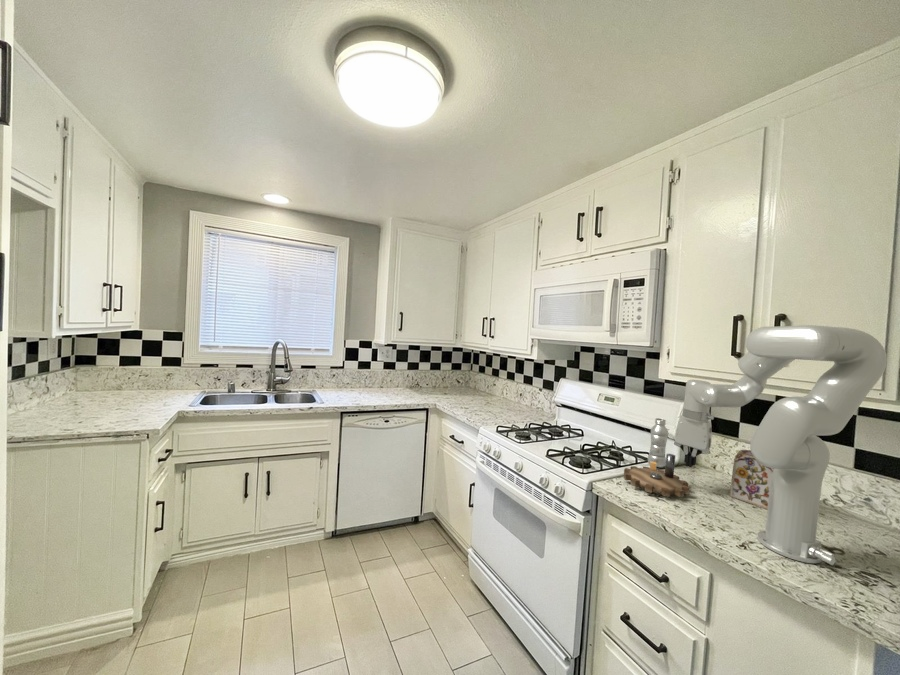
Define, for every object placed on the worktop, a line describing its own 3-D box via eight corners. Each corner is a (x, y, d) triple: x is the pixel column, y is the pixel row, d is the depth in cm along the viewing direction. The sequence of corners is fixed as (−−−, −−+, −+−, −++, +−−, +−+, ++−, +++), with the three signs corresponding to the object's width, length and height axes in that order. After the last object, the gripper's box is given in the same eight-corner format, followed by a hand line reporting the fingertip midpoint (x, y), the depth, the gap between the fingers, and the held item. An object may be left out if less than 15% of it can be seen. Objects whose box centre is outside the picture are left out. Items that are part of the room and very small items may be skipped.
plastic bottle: (644, 462, 153) (648, 416, 152) (661, 464, 152) (665, 418, 151) (650, 468, 147) (655, 420, 146) (668, 470, 146) (672, 422, 145)
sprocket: (658, 499, 115) (661, 469, 115) (611, 473, 135) (613, 447, 134) (703, 494, 122) (706, 465, 121) (652, 469, 141) (654, 444, 141)
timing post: (655, 476, 138) (656, 464, 138) (649, 475, 139) (650, 462, 139) (655, 474, 140) (656, 462, 140) (649, 473, 141) (650, 461, 140)
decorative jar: (772, 512, 115) (778, 457, 114) (728, 496, 124) (733, 446, 124) (782, 503, 122) (787, 452, 121) (739, 489, 131) (744, 441, 131)
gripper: (724, 419, 121) (717, 471, 123) (674, 408, 133) (669, 456, 134) (718, 422, 117) (711, 476, 118) (668, 411, 128) (662, 460, 129)
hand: (689, 465), depth 126 cm, fingers closed
